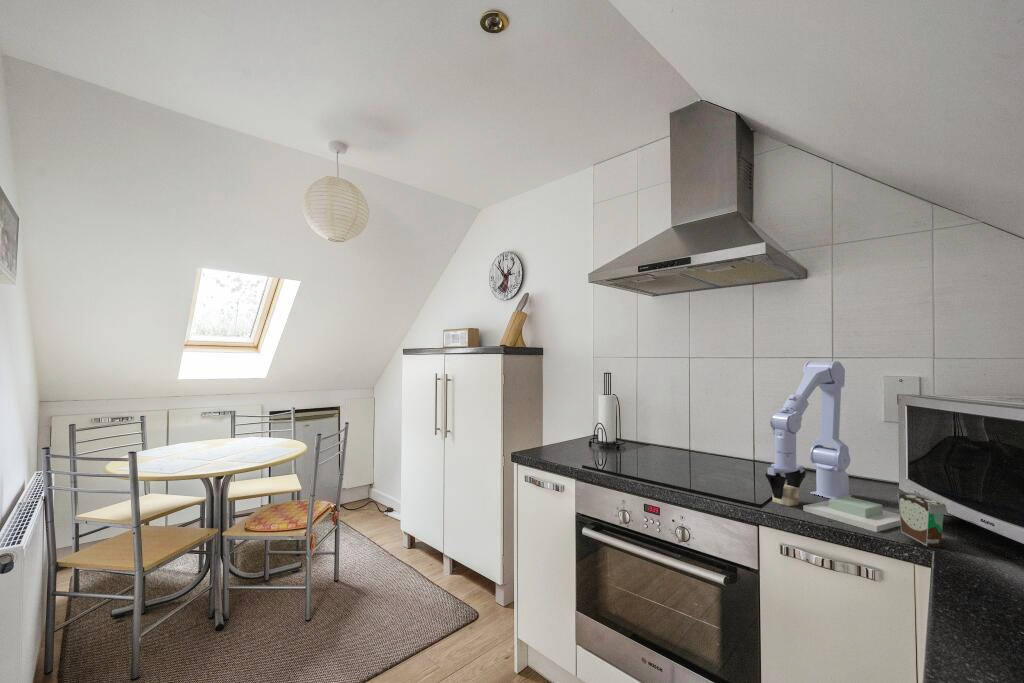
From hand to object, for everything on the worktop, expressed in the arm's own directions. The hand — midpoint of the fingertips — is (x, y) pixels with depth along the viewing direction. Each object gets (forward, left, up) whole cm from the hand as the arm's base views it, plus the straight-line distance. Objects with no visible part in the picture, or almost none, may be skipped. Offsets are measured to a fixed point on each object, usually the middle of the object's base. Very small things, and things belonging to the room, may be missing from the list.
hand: (785, 496), depth 137 cm
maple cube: (0, 0, -2) cm, 2 cm away
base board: (-6, +16, -2) cm, 17 cm away
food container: (-3, +33, -2) cm, 33 cm away
